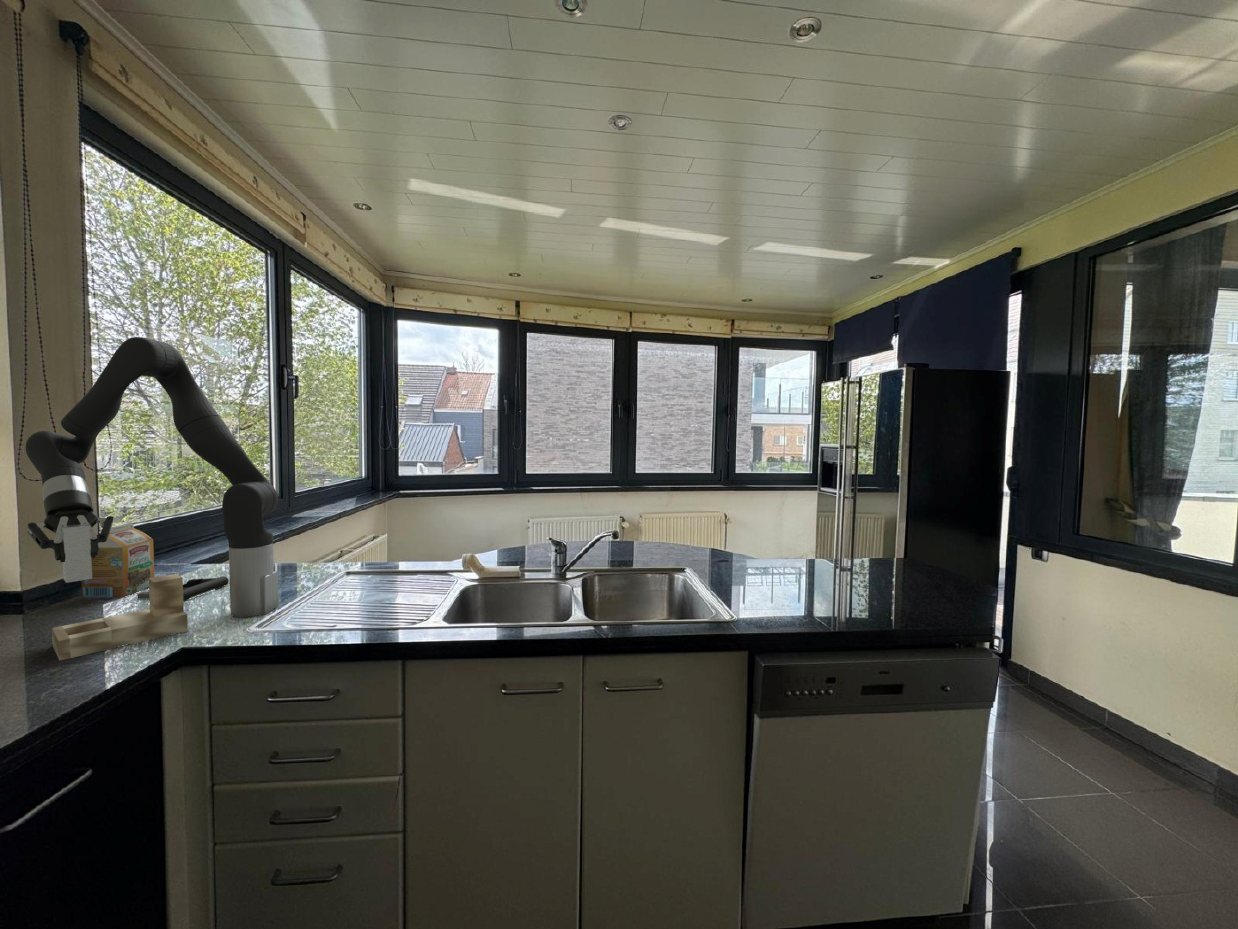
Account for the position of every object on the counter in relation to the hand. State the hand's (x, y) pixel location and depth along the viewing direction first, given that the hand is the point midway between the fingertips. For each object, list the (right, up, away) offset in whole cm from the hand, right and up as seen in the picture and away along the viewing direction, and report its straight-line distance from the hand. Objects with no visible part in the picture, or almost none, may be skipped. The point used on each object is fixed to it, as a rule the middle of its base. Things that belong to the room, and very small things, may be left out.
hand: (78, 557), depth 113 cm
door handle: (-5, -17, +32) cm, 36 cm away
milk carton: (-23, -16, +33) cm, 44 cm away
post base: (+9, -18, 0) cm, 20 cm away
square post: (-2, -5, +1) cm, 5 cm away
